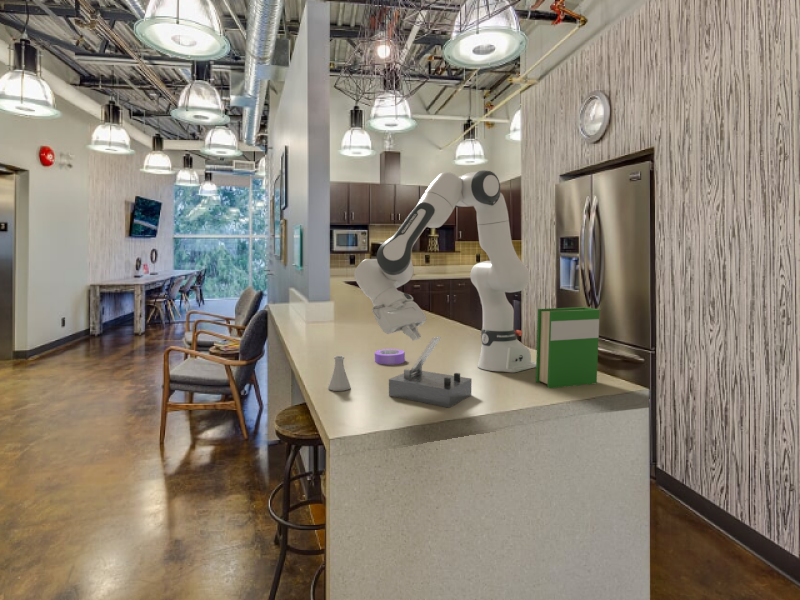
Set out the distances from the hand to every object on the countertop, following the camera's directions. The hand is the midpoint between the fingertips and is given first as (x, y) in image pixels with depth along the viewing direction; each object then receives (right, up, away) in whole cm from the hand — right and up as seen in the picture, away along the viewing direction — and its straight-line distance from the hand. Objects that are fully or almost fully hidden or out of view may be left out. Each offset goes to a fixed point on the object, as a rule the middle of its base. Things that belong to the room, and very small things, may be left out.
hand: (417, 338), depth 142 cm
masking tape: (-9, -13, +44) cm, 47 cm away
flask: (-24, -16, +7) cm, 30 cm away
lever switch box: (+4, -17, -1) cm, 17 cm away
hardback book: (+49, -16, +13) cm, 53 cm away
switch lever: (+2, -6, -1) cm, 6 cm away
